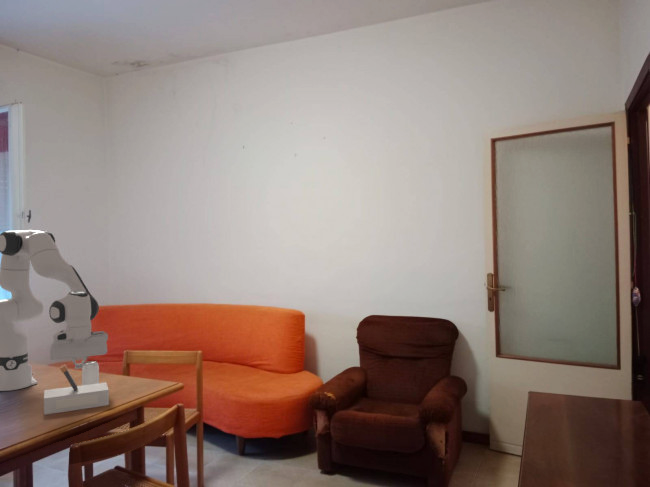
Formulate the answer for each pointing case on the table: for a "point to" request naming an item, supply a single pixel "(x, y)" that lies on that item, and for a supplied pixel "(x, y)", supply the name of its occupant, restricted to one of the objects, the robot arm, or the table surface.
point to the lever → (68, 376)
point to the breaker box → (75, 398)
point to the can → (90, 373)
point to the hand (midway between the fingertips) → (79, 368)
